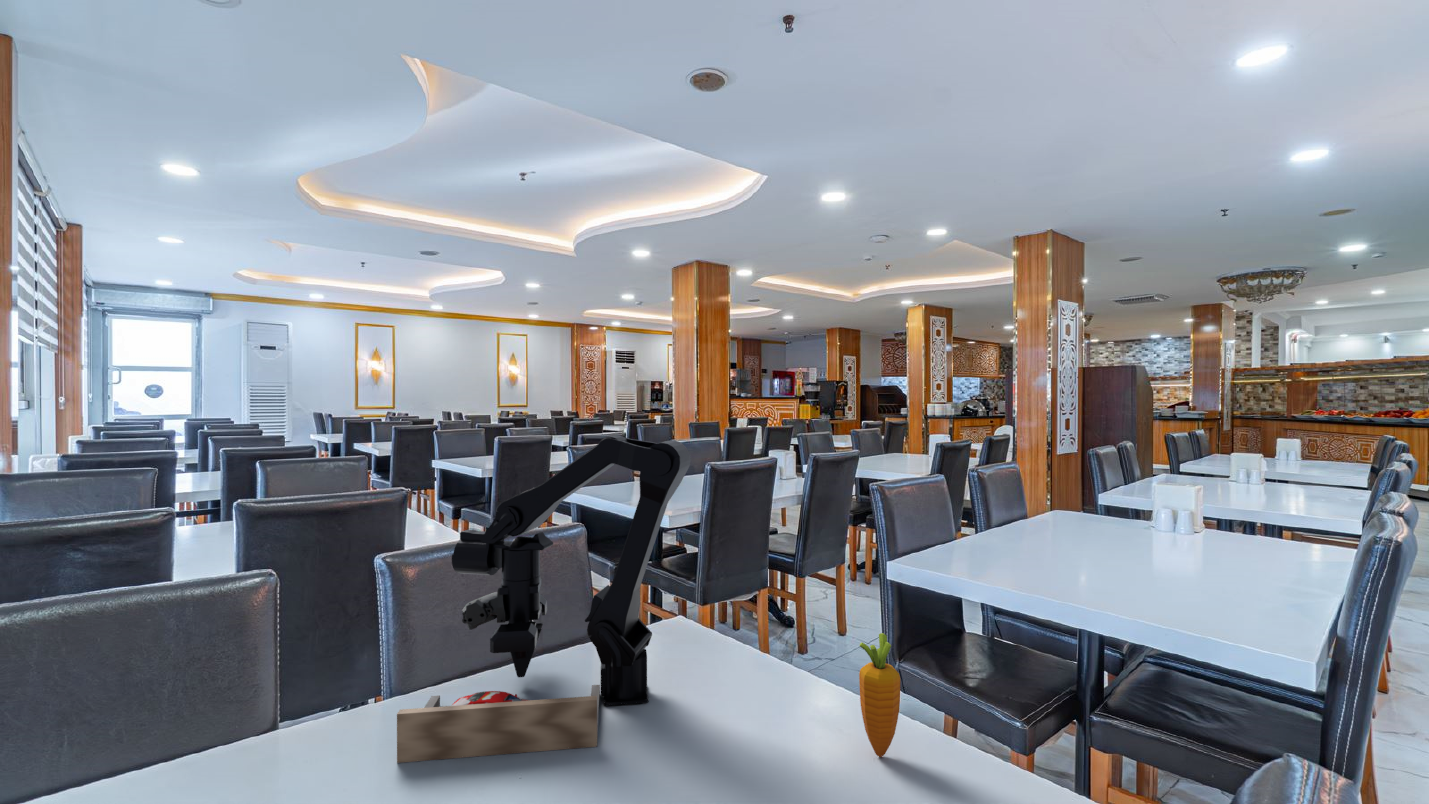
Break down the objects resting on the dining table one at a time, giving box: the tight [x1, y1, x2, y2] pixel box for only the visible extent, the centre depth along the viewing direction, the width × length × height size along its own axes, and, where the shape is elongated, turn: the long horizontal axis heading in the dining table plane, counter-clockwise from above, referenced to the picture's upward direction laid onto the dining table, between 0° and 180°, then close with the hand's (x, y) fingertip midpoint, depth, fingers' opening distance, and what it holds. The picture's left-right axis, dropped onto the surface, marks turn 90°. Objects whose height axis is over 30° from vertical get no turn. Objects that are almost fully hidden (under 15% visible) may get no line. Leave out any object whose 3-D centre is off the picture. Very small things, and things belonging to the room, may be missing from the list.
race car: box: [451, 690, 530, 706], centre depth 90 cm, size 13×5×4 cm, turn 84°
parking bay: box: [396, 684, 601, 764], centre depth 89 cm, size 24×15×6 cm, turn 99°
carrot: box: [858, 632, 901, 758], centre depth 81 cm, size 5×5×15 cm
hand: (521, 676), depth 101 cm, fingers closed
